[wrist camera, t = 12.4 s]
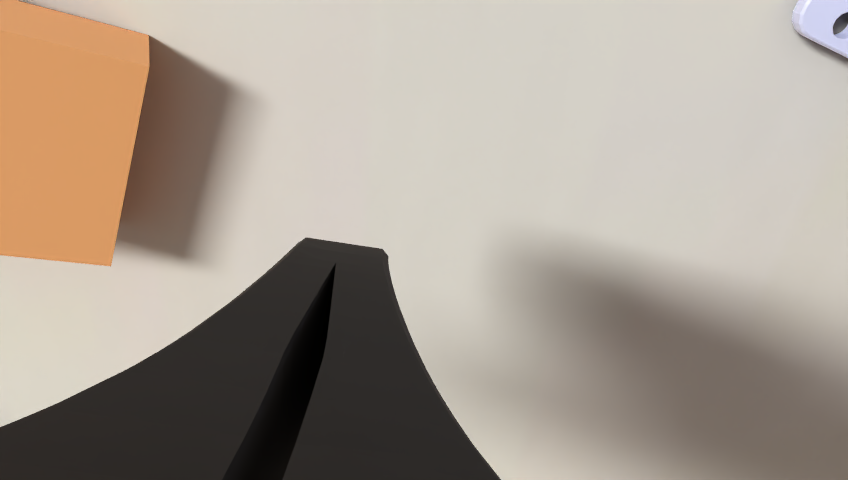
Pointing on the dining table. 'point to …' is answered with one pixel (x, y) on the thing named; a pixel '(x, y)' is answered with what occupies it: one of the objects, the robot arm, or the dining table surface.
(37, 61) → the orange tile
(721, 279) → the dining table surface
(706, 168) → the dining table surface
